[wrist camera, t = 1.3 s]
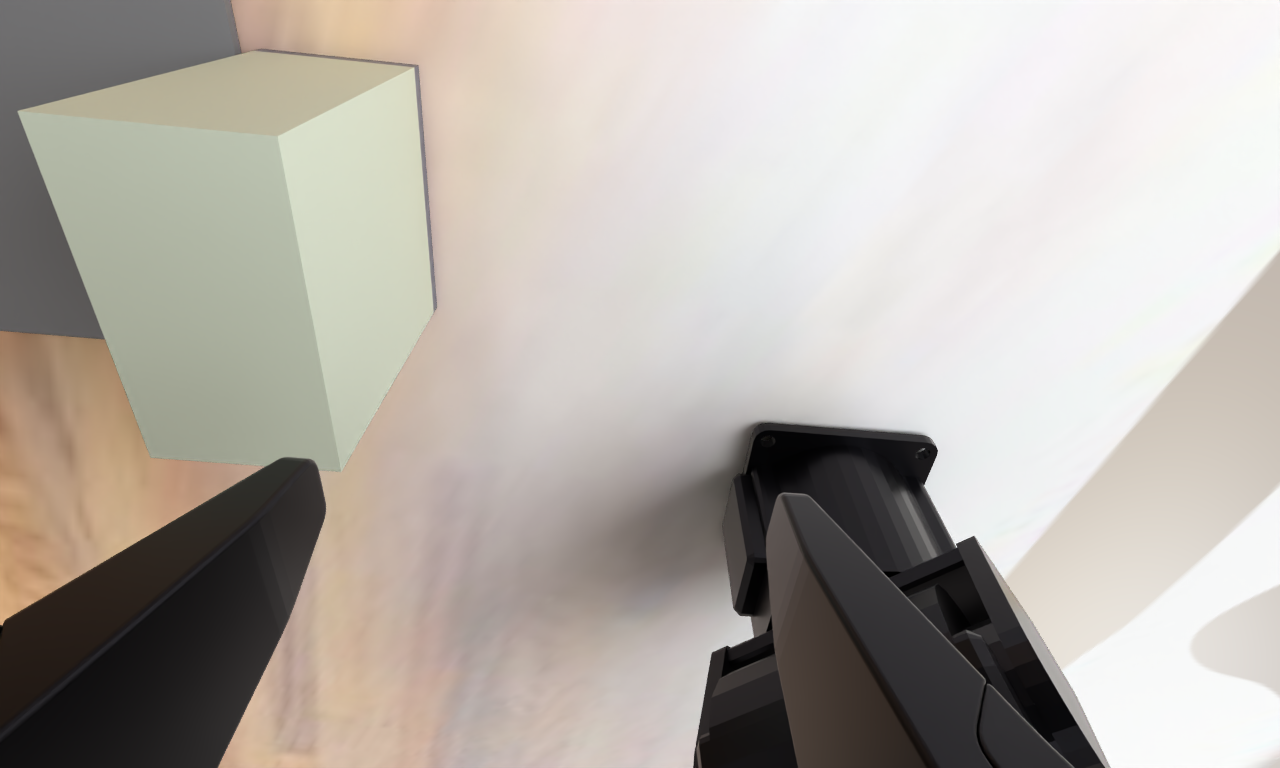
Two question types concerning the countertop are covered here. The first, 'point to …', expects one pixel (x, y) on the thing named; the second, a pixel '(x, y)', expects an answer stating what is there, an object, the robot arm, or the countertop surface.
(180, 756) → the robot arm
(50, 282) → the mat
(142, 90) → the sage block
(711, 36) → the countertop surface
